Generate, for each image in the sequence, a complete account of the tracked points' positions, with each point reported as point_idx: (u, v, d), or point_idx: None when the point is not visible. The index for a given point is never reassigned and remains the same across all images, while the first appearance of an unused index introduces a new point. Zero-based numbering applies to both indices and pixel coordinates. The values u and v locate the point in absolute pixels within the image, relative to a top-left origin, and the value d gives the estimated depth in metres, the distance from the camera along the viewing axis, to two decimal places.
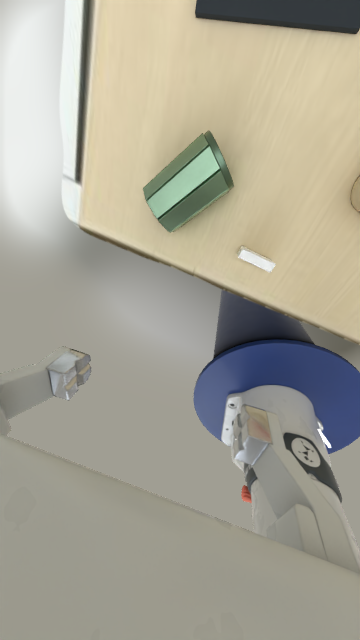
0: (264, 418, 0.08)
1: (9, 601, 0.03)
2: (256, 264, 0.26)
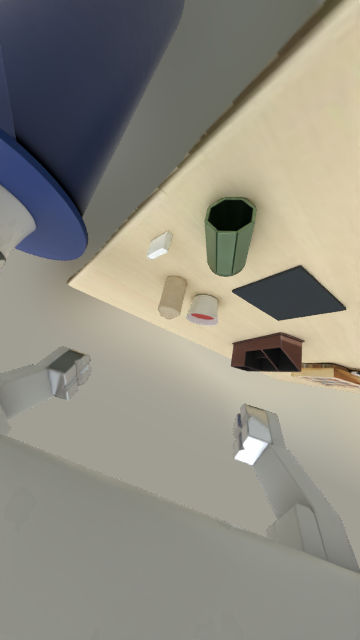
0: (264, 418, 0.08)
1: (9, 601, 0.03)
2: (154, 253, 0.35)
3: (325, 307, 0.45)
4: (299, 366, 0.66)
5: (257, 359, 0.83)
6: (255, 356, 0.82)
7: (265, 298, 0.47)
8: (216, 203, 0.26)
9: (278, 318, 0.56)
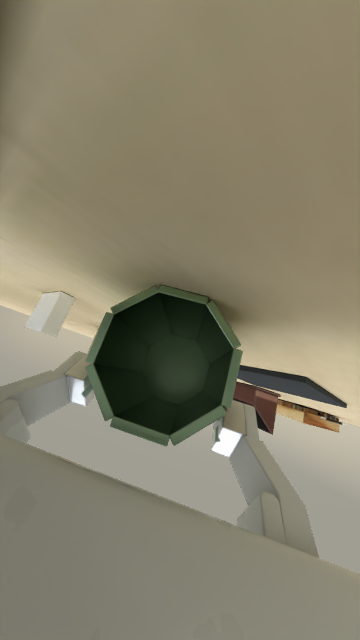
0: (241, 411, 0.08)
1: (8, 602, 0.03)
2: None
3: (320, 400, 0.32)
4: (271, 428, 0.55)
5: None
6: None
7: (240, 375, 0.32)
8: (133, 301, 0.09)
9: (254, 384, 0.42)
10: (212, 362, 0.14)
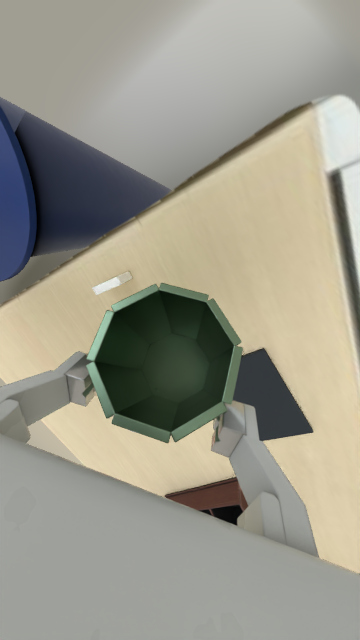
0: (241, 411, 0.08)
1: (9, 601, 0.03)
2: (103, 283, 0.28)
3: (290, 424, 0.36)
4: None
5: None
6: None
7: None
8: (133, 299, 0.09)
9: None
10: (212, 360, 0.15)
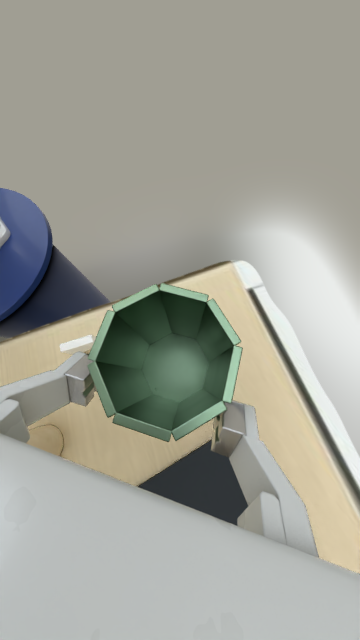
0: (241, 411, 0.08)
1: (9, 603, 0.03)
2: (74, 341, 0.29)
3: None
4: None
5: None
6: None
7: None
8: (134, 299, 0.09)
9: None
10: (212, 360, 0.15)
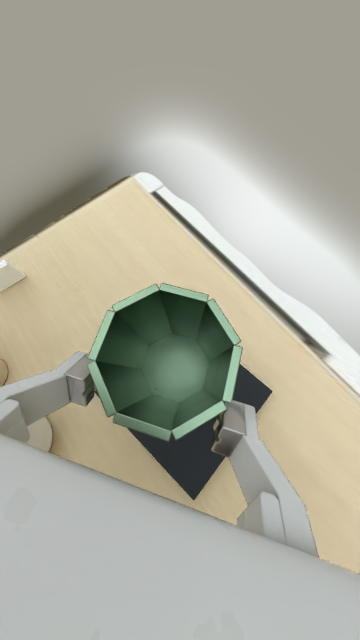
0: (241, 411, 0.08)
1: (9, 601, 0.03)
2: None
3: (240, 391, 0.26)
4: None
5: None
6: None
7: None
8: (134, 299, 0.09)
9: (189, 483, 0.23)
10: (212, 360, 0.15)
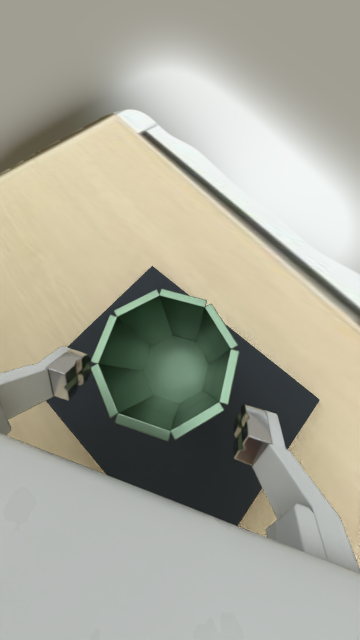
0: (264, 418, 0.08)
1: (9, 601, 0.03)
2: None
3: (270, 399, 0.17)
4: None
5: None
6: None
7: None
8: (135, 304, 0.09)
9: None
10: (211, 362, 0.15)
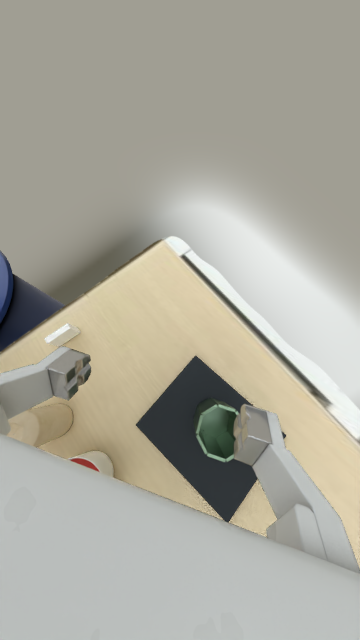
0: (264, 418, 0.08)
1: (9, 601, 0.03)
2: (55, 332, 0.36)
3: None
4: None
5: None
6: None
7: (181, 431, 0.33)
8: (209, 410, 0.25)
9: (223, 510, 0.30)
10: (232, 419, 0.31)
